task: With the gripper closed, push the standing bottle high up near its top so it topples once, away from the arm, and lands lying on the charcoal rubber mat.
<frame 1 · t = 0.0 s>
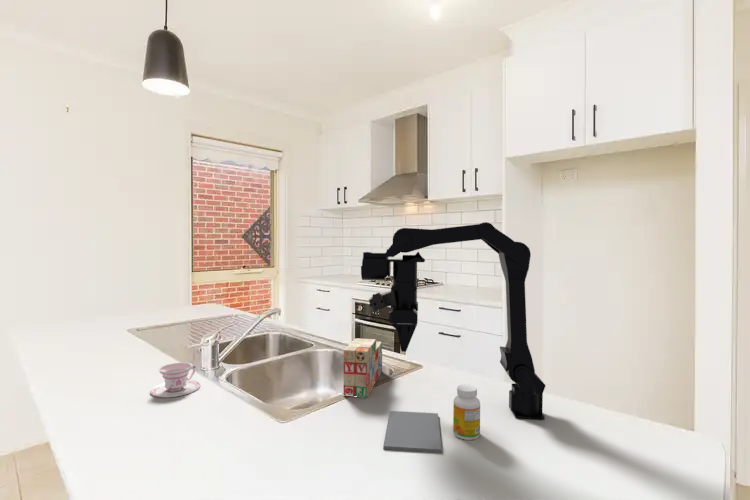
hand: (404, 346, 96), 15 cm above the counter, fingers open, 9 cm apart
charcoal mat: (412, 431, 85), on the counter
stack of blocks: (364, 384, 113), on the counter
supplement bottle: (466, 435, 83), on the counter
teacup: (176, 390, 108), on the counter
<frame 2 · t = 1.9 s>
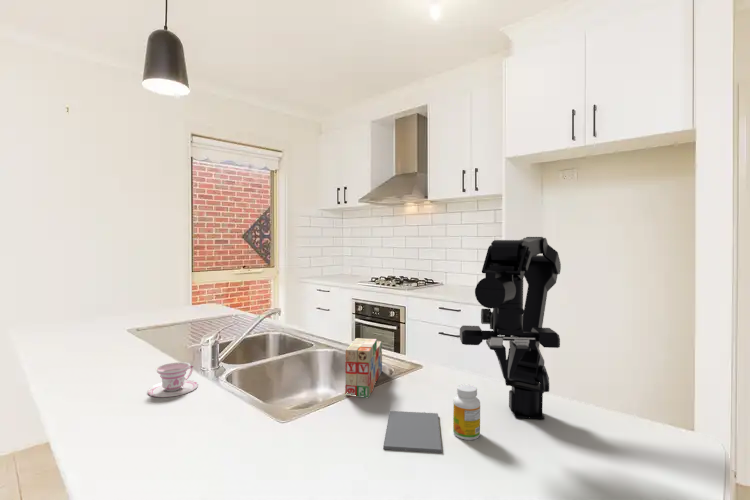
hand: (507, 378, 82), 12 cm above the counter, fingers closed
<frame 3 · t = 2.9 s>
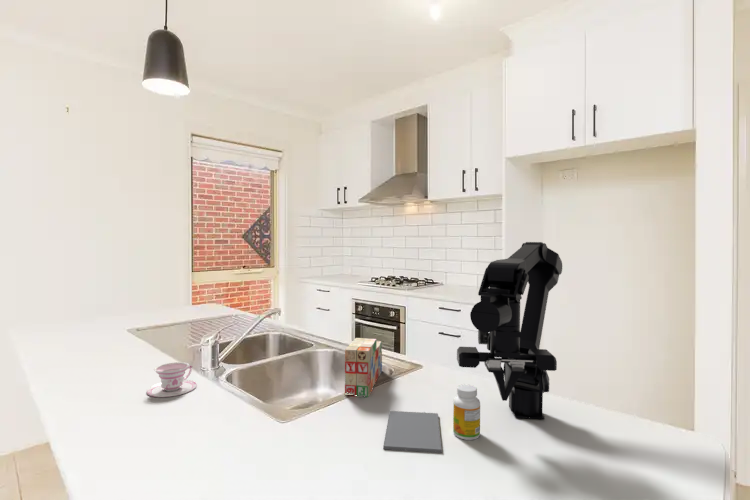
hand: (504, 399, 82), 8 cm above the counter, fingers closed
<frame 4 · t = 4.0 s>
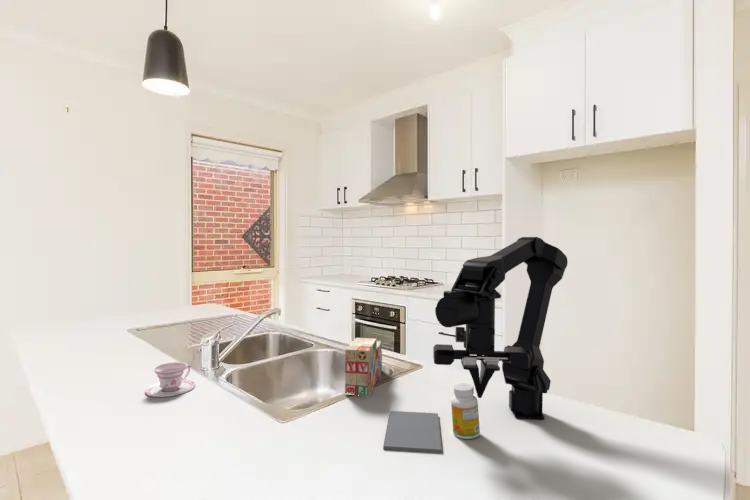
hand: (479, 397, 83), 8 cm above the counter, fingers closed
supplement bottle: (466, 434, 83), on the counter, touching gripper
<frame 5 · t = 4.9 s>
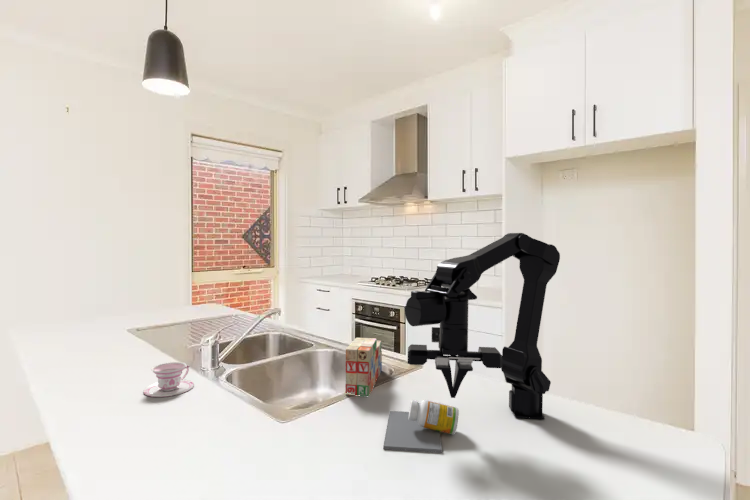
hand: (452, 397, 83), 8 cm above the counter, fingers closed
supplement bottle: (457, 421, 83), point 3 cm above the counter, touching charcoal mat
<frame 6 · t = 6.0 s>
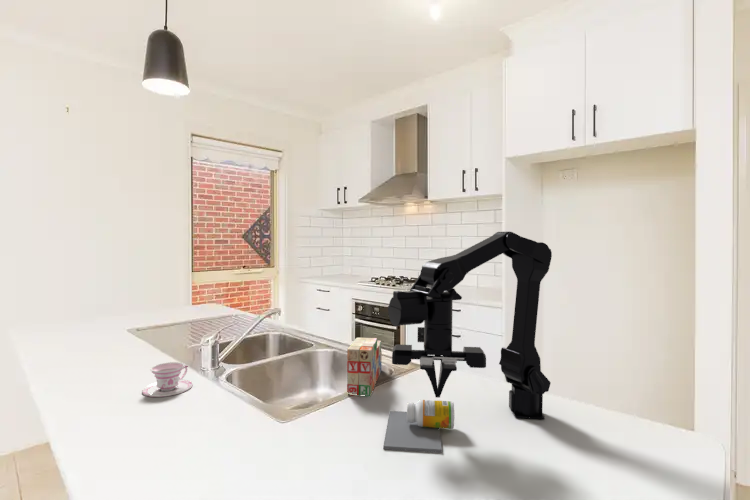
hand: (437, 396, 84), 8 cm above the counter, fingers closed
supplement bottle: (454, 415, 85), point 3 cm above the counter, touching charcoal mat
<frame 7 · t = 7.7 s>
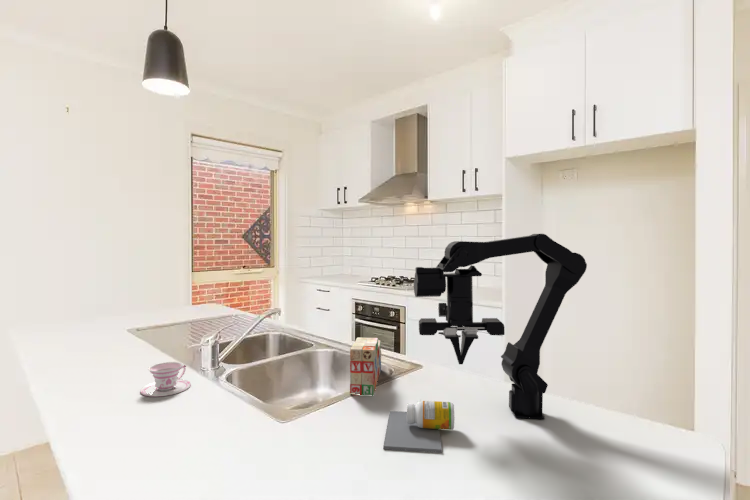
hand: (460, 363, 93), 12 cm above the counter, fingers closed
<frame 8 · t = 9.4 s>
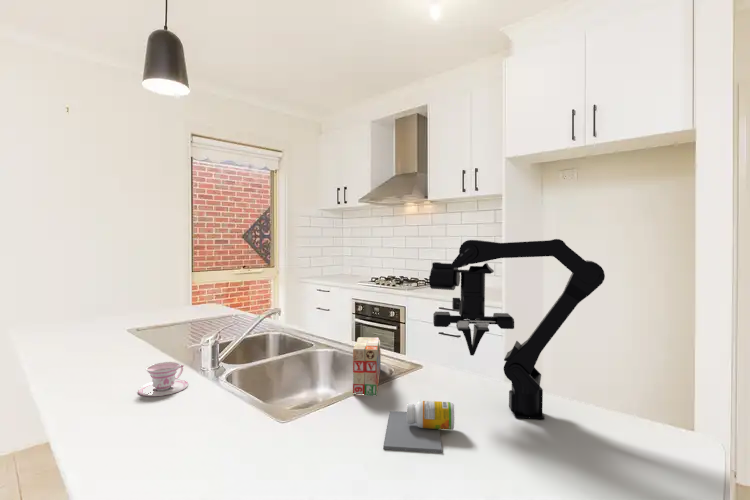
hand: (471, 355, 99), 12 cm above the counter, fingers closed
at the end: supplement bottle tilted 90°; supplement bottle touching charcoal mat; supplement bottle inside the target area (5.7 cm from its centre), point 3.3 cm above the counter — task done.
